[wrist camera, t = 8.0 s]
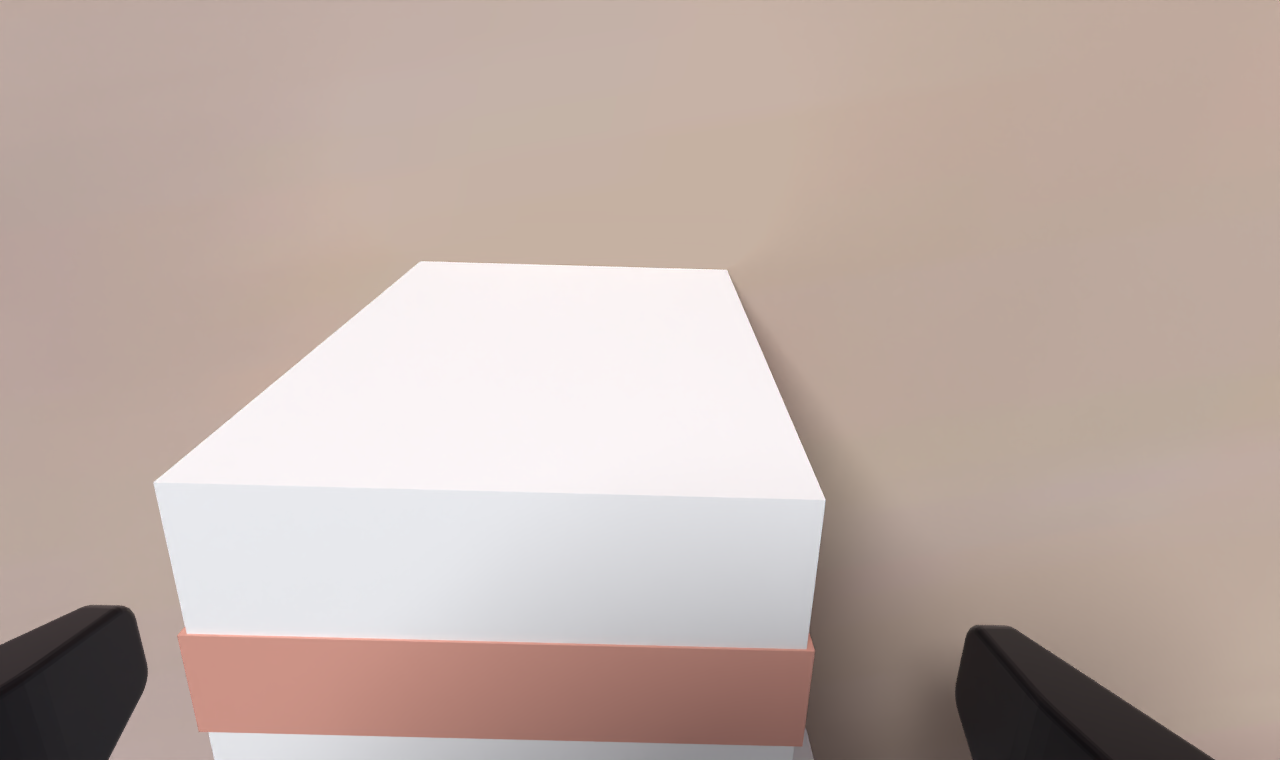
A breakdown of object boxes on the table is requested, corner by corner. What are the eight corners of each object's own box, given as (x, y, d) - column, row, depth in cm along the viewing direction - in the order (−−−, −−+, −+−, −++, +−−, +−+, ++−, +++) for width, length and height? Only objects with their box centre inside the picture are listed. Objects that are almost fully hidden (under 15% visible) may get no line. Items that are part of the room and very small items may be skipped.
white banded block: (701, 691, 13) (746, 1173, 7) (448, 685, 13) (294, 1164, 7) (730, 270, 10) (834, 502, 5) (417, 260, 10) (142, 483, 5)
